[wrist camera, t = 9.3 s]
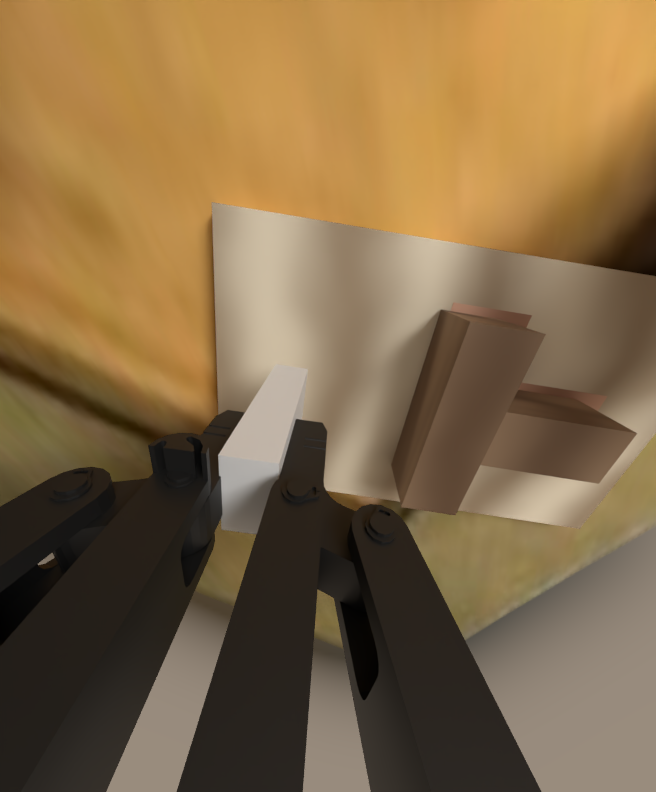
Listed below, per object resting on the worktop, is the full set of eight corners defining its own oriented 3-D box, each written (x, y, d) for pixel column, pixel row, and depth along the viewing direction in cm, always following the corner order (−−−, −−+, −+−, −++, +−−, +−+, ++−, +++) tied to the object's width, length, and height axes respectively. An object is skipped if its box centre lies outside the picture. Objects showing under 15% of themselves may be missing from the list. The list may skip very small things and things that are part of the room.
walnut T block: (391, 464, 18) (401, 506, 15) (440, 309, 14) (470, 321, 10) (523, 485, 18) (561, 531, 15) (613, 338, 14) (694, 359, 11)
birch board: (225, 465, 20) (220, 474, 19) (220, 206, 13) (211, 201, 12) (569, 517, 20) (579, 529, 19) (737, 292, 14) (766, 294, 13)
